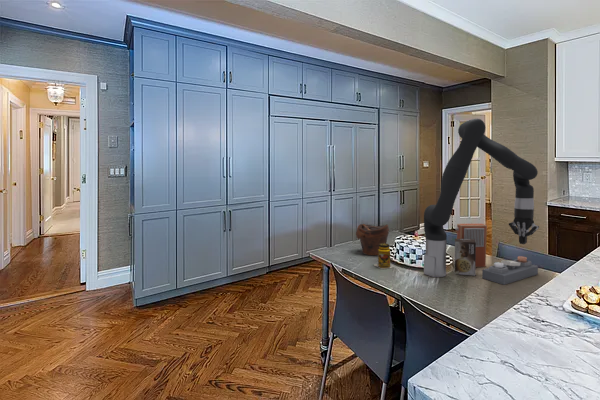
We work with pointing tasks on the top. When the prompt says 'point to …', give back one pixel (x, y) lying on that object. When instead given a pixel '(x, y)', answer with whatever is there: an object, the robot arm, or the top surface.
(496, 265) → the grey button
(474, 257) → the cookie box
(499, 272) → the switch console
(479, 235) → the red upright rectangular box
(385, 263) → the condiment
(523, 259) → the terracotta button
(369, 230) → the brown plant pot
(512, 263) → the rocker switch
